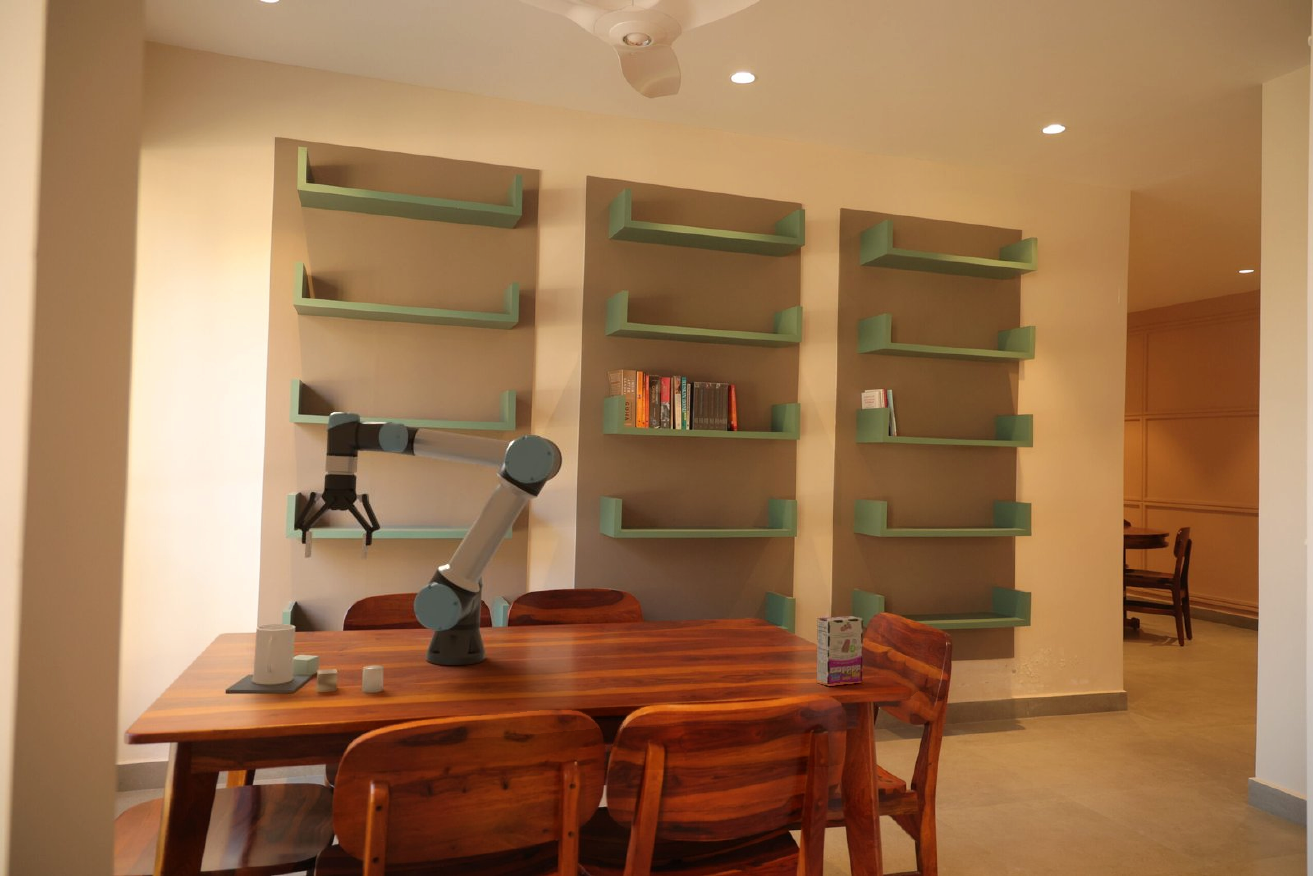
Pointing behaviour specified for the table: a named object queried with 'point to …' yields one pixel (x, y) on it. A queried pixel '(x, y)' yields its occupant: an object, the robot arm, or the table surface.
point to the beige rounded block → (372, 679)
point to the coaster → (250, 687)
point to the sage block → (305, 665)
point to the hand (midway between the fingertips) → (336, 558)
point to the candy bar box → (839, 649)
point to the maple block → (326, 680)
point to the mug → (274, 654)
